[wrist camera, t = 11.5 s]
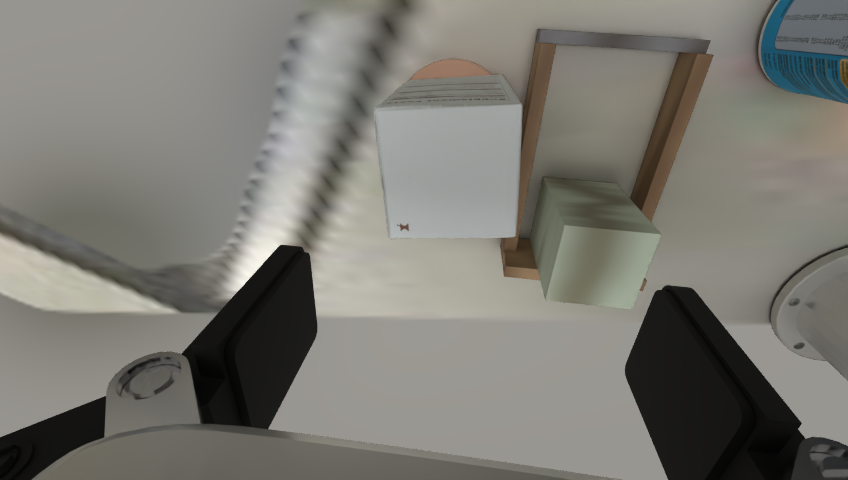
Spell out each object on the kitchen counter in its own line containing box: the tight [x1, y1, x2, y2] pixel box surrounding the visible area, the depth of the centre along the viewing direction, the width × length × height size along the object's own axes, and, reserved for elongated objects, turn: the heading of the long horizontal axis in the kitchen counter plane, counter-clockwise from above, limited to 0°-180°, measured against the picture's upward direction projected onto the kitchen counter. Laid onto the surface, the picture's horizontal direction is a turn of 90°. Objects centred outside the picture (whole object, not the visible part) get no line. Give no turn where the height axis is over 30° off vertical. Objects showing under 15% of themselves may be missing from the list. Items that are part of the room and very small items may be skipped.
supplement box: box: [374, 74, 522, 239], centre depth 26 cm, size 7×7×13 cm
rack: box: [500, 29, 713, 309], centre depth 28 cm, size 11×18×9 cm, turn 177°
